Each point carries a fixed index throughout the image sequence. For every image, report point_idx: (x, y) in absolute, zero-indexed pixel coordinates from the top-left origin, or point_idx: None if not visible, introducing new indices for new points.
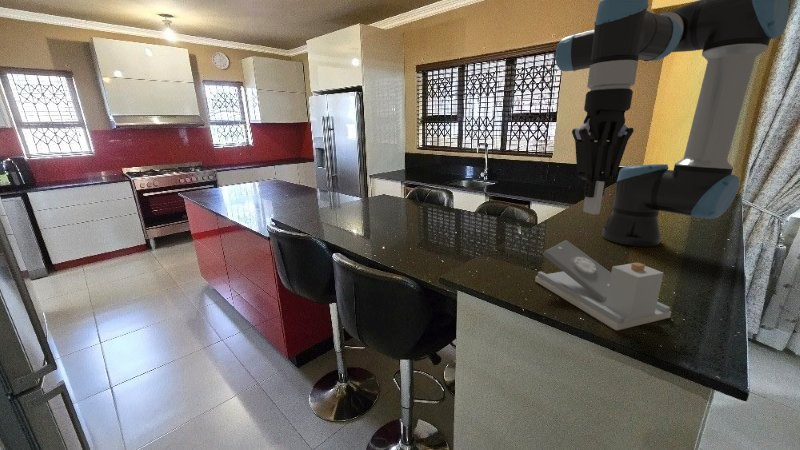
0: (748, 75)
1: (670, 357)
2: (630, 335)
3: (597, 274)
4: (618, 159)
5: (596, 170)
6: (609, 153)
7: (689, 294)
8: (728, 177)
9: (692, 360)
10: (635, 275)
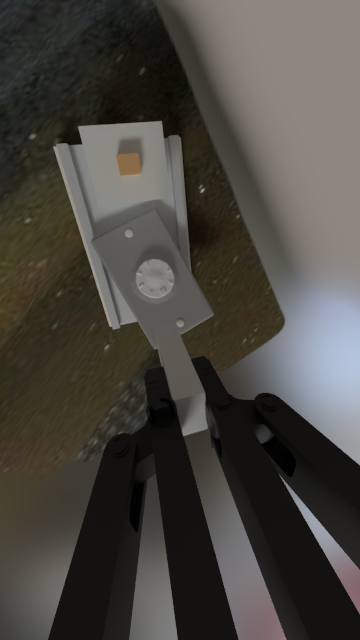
0: None
1: (152, 30)
2: (166, 119)
3: (137, 260)
4: (98, 563)
5: (247, 436)
6: (210, 598)
7: None
8: None
9: (123, 3)
10: (159, 134)
